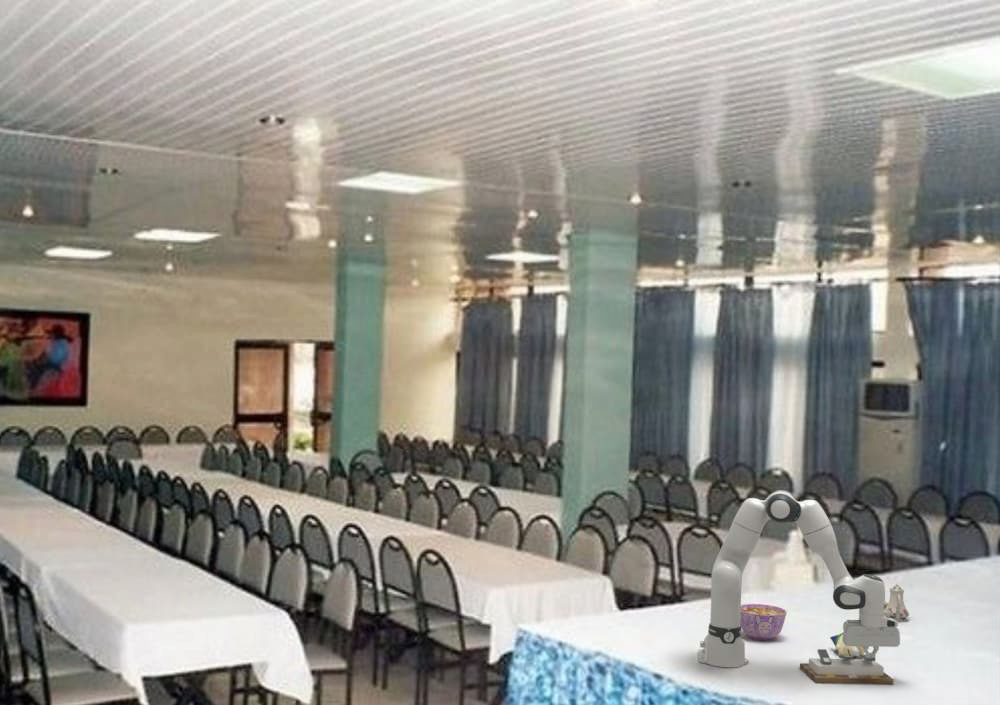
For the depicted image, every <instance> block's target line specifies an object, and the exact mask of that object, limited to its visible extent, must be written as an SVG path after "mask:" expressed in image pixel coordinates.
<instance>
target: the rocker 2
mask: <svg viewBox="0 0 1000 705" xmlns="http://www.w3.org/2000/svg"><path fill="white" fill-rule="evenodd" d="M854 657H855V656H854ZM854 657H852V656H848V655H839V654H838V659H845V660H854V659H855V658H854Z"/></svg>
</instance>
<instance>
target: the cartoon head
mask: <svg viewBox="0 0 1000 705" xmlns="http://www.w3.org/2000/svg"><path fill="white" fill-rule="evenodd" d="M842 639H843V632H841V633H839V634H836V635H833V636H830V640H831V641H832V643H833V645H834V647H835V650H836V651H837V654H838V656H839V655H848V656H852V657H857V656H858V657H860V654H866V653H865V651H864V649H863V646H846V645H845V644H844V643H843V641H842Z"/></svg>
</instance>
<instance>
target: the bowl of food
mask: <svg viewBox="0 0 1000 705" xmlns="http://www.w3.org/2000/svg"><path fill="white" fill-rule="evenodd" d="M786 616H787V610H786V609H784V608H782V607H780V606H775V605H769V604H763V603H761V604H760V603H745V604H744V603H743V604H741V616H740V626H741V630H742V631H743V633H744V634H746V635H747V636H749V637H750V638H751V639H753V640H757V641H758V640H759V641H769V640H771V639H773V638H775V637H777V636H778V635H779V634H780V633H781V632H782V629H783V627H784V624H785V620H786Z"/></svg>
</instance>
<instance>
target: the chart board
mask: <svg viewBox="0 0 1000 705" xmlns="http://www.w3.org/2000/svg"><path fill="white" fill-rule="evenodd" d="M799 669H800V670H801V671H802V672H803V673H804V674H805V675H806V676H807V677H808V678H810V680H812V681H813V682H814V683H815V684H832V685H833V684H835V685H837V684H839V685H842V684H843V685H886V686H887V685H891V686H892V685H894V678H892V677H891V676H890V675H889V674H887V673H886V672H884V671H883V676H878V675H833V674H825V675H820V674H817V673H816V672H814V671H813V670H812V669H811V668H810V667H809V662H807V663H805V662H800V663H799Z"/></svg>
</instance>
